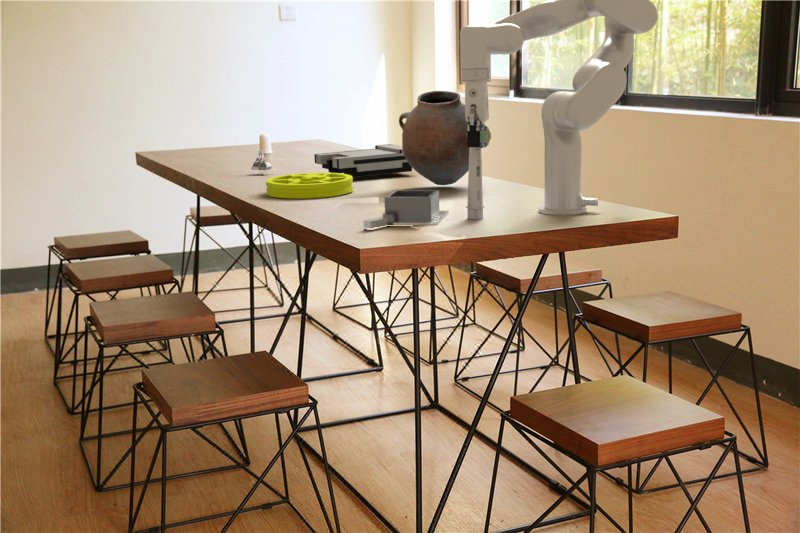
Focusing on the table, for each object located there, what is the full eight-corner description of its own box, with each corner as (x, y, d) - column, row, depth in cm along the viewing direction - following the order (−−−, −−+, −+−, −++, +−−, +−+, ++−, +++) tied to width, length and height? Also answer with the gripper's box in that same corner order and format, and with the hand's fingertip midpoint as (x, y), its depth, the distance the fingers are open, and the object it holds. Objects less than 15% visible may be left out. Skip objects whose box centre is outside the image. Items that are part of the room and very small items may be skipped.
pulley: (344, 183, 322) (343, 168, 321) (360, 194, 296) (360, 178, 294) (262, 188, 316) (261, 173, 314) (271, 200, 289) (270, 184, 288)
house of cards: (283, 167, 368) (282, 148, 366) (270, 170, 360) (268, 150, 359) (264, 167, 372) (263, 147, 370) (250, 169, 365) (249, 150, 363)
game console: (315, 173, 349) (314, 150, 347) (391, 165, 364) (391, 144, 362) (339, 179, 331) (338, 155, 330) (418, 170, 346) (418, 148, 344)
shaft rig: (452, 210, 260) (451, 185, 259) (433, 231, 232) (432, 203, 230) (389, 210, 264) (388, 185, 262) (362, 230, 236) (361, 203, 234)
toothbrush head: (479, 217, 248) (478, 121, 242) (493, 221, 242) (492, 123, 237) (462, 219, 246) (460, 122, 240) (475, 223, 240) (473, 124, 234)
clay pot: (402, 192, 295) (399, 94, 288) (400, 181, 319) (397, 90, 312) (485, 189, 295) (484, 91, 288) (477, 178, 320) (475, 88, 313)
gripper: (486, 77, 227) (487, 148, 231) (494, 74, 243) (495, 141, 247) (455, 77, 228) (456, 149, 232) (465, 75, 245) (466, 141, 249)
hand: (476, 145), depth 240 cm, fingers open, 9 cm apart
